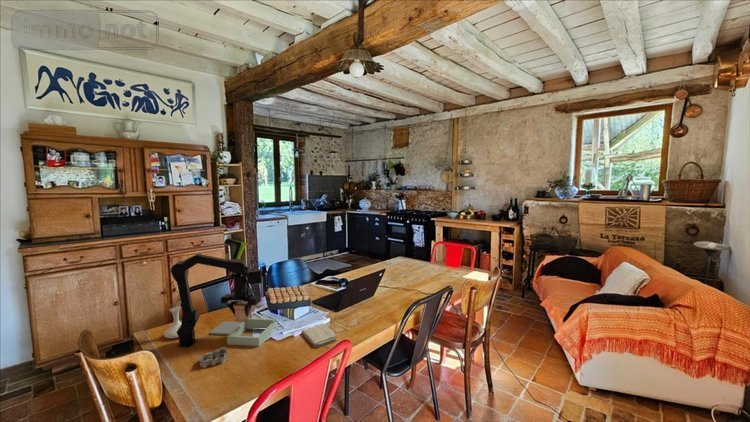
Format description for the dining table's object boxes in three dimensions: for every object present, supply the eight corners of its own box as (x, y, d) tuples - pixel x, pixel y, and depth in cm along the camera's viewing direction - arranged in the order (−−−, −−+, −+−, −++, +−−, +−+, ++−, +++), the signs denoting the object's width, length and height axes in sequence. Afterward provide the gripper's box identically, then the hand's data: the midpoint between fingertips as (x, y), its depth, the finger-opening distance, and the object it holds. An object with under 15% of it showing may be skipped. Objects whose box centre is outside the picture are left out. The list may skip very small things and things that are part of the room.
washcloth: (315, 349, 143) (315, 343, 142) (300, 334, 157) (300, 328, 157) (338, 341, 150) (338, 335, 149) (322, 327, 164) (321, 321, 164)
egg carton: (228, 354, 141) (227, 345, 140) (227, 363, 134) (226, 354, 133) (201, 360, 137) (200, 351, 136) (198, 369, 130) (197, 360, 129)
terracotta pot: (244, 322, 153) (243, 306, 152) (231, 321, 154) (230, 306, 153) (252, 316, 160) (251, 301, 159) (239, 315, 161) (238, 300, 160)
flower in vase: (178, 341, 152) (173, 291, 149) (158, 339, 154) (153, 290, 151) (198, 328, 165) (194, 282, 162) (179, 327, 167) (175, 281, 164)
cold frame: (259, 346, 146) (258, 334, 145) (227, 344, 148) (226, 333, 148) (274, 329, 162) (274, 319, 161) (245, 328, 164) (245, 317, 163)
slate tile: (231, 335, 157) (231, 333, 157) (209, 334, 158) (209, 332, 158) (244, 324, 168) (244, 322, 168) (224, 323, 170) (223, 321, 170)
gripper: (265, 281, 161) (267, 310, 163) (232, 279, 164) (234, 308, 166) (254, 288, 150) (255, 320, 152) (218, 286, 153) (220, 317, 155)
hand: (241, 316), depth 157 cm, fingers closed on terracotta pot, 6 cm apart
